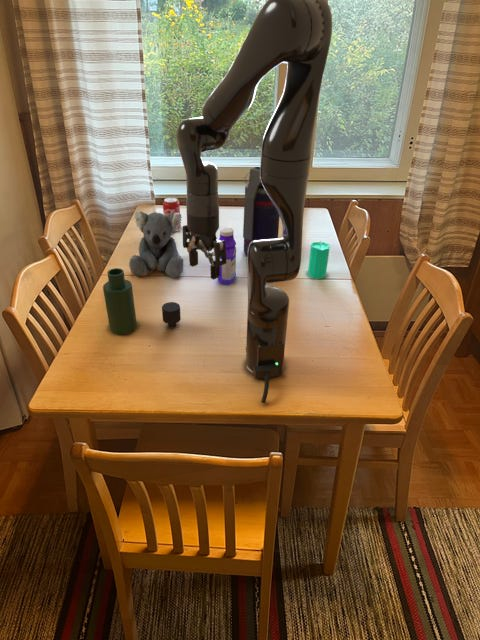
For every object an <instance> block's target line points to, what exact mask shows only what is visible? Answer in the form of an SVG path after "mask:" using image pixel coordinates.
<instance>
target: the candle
mask: <svg viewBox="0 0 480 640" xmlns="http://www.w3.org/2000/svg"><path fill="white" fill-rule="evenodd" d="M330 248H331V245H330V243H327V242H324V241H313V242H311V244H310V250H309V251H310V252H309V259H308V260H309V261H308V270H307V275H308V276H309V277H310V278H312V279H317V280H319V279H324V278H326V276H327V268H328V262H329V255H330Z"/></svg>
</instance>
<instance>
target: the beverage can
mask: <svg viewBox="0 0 480 640" xmlns="http://www.w3.org/2000/svg"><path fill="white" fill-rule="evenodd" d="M174 212H176V213H179V214H181V206H180V201H179V199H178V198H177V197H173V196H171V197H165V198H164V200H163V202H162V214H163V215H165V216H167V215H169V214H170V213H174ZM181 228H182V223H181V224H180V226H179V227H178V228H177V230H176V231H175V232H174V233H176V232H178V231H179V230H180V229H181Z"/></svg>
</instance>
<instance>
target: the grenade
mask: <svg viewBox="0 0 480 640" xmlns="http://www.w3.org/2000/svg"><path fill="white" fill-rule="evenodd" d="M248 175H249V176H248ZM247 176H248V181H246V178H247ZM243 183H244V184H246V185H245V186H244V202H243V203H244V204H243V225H242V238H243V252H244V254H245V256H247V252H248V247H249V245H250V243H251V242H252V241H255V240H263V239H275V238H279V229H280V216H279V213H278V211H277V209H276V208H275V206H274V204H273V203H272V201H271V200H270V198H269V196H268V195H267V193H266V191H265V189H264V187H263V185H262V183H261V179H260V166H255V167H253V168H250V169H249V172H248V173H246V174H245V176H244V179H243Z"/></svg>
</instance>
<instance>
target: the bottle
mask: <svg viewBox="0 0 480 640" xmlns="http://www.w3.org/2000/svg"><path fill="white" fill-rule="evenodd" d="M218 240H219V241H223V240H224V241H225V242H226V264H224V265H221V266H220V276H219V277H218V278H217V282H218V283H219V284H221V285H231V284H233V283H234V282H235V280H236V277H237V248H236V246H237V241H236V240H235V237H234V228H232V227H228V226H225V227H221V228H219V239H218ZM220 259H221V260H222V257H220Z"/></svg>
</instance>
